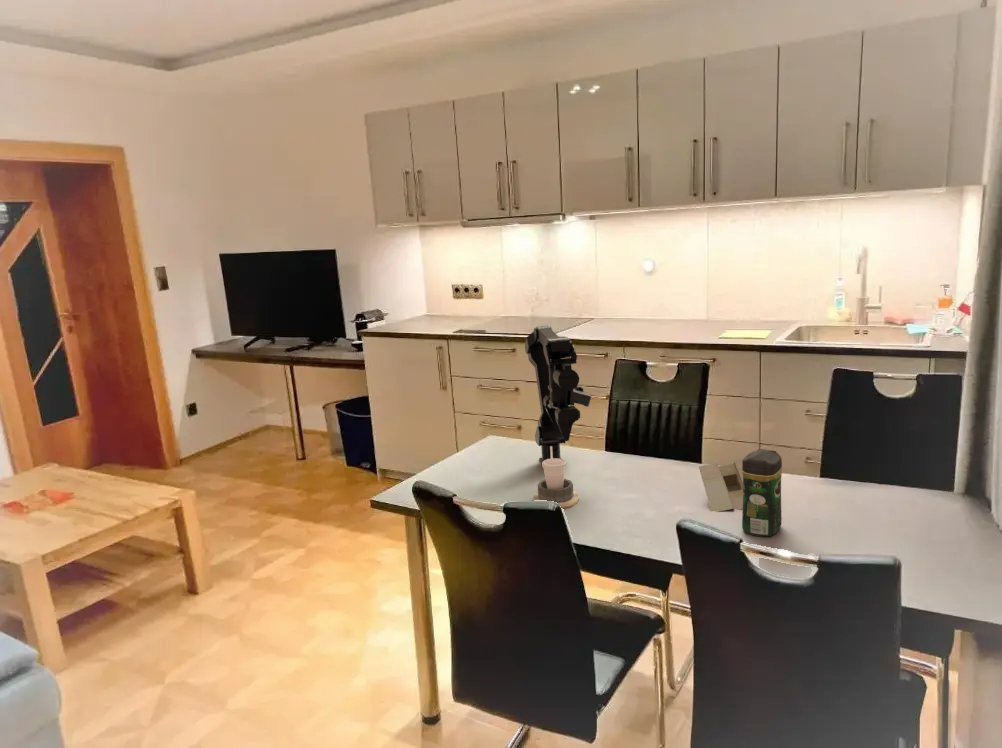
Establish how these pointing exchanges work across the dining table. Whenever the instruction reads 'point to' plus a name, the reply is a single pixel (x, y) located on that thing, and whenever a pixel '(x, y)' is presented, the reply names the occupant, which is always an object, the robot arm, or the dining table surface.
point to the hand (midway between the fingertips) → (562, 436)
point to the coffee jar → (762, 492)
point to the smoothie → (554, 472)
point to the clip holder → (557, 494)
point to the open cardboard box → (723, 485)
